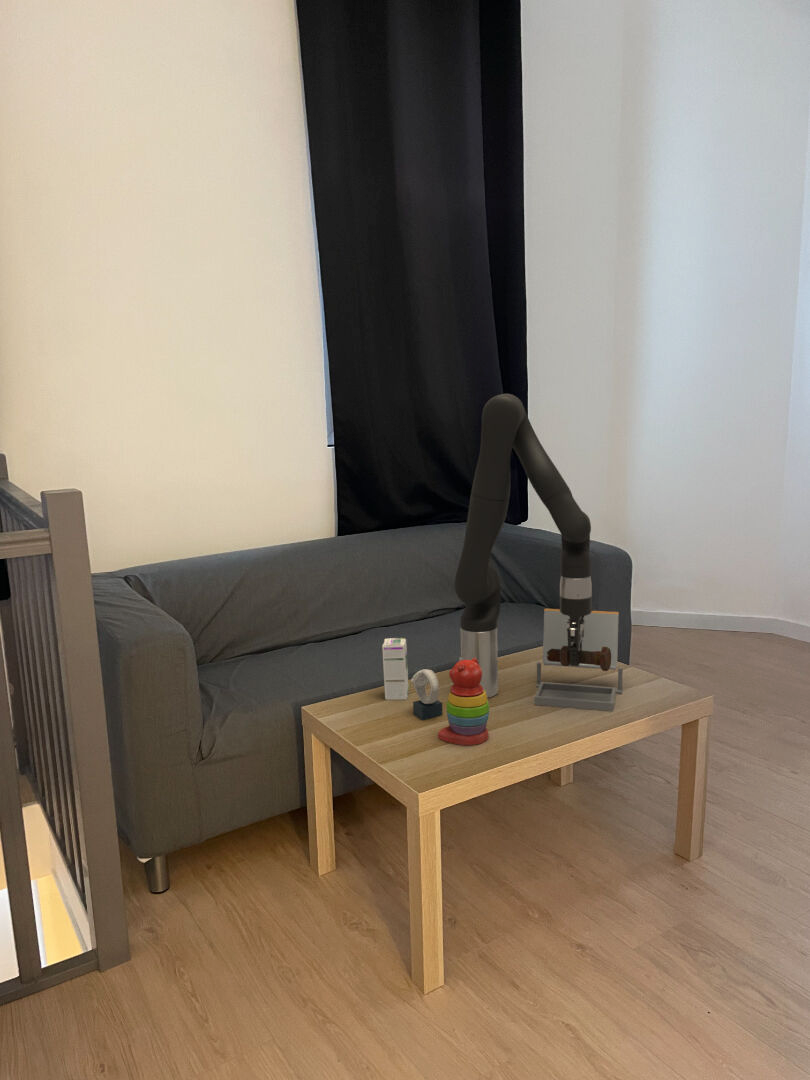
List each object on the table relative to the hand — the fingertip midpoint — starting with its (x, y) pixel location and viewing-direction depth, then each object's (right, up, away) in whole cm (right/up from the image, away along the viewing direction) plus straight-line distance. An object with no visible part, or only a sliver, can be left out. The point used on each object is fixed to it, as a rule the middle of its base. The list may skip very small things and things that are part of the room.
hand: (575, 661), depth 202 cm
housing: (+1, -9, +4) cm, 10 cm away
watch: (-36, -12, -4) cm, 38 cm away
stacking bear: (-28, -14, -17) cm, 36 cm away
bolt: (+1, -1, +1) cm, 2 cm away
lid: (+3, +4, +9) cm, 11 cm away
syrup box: (-44, -10, +9) cm, 46 cm away
